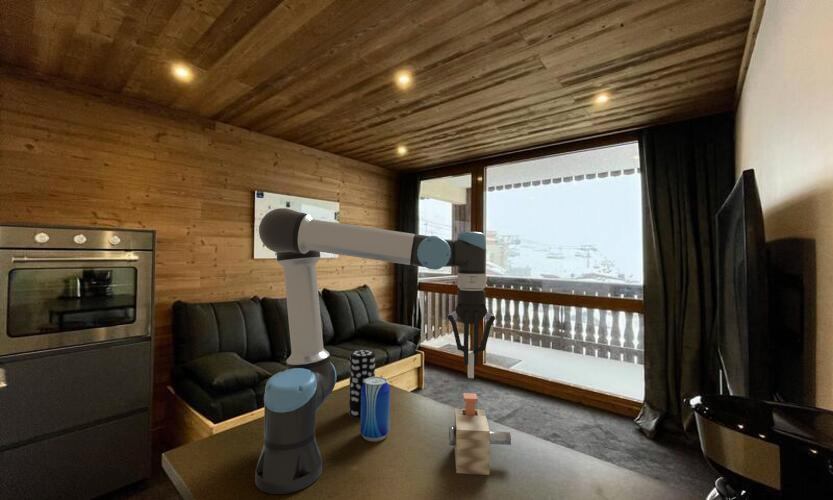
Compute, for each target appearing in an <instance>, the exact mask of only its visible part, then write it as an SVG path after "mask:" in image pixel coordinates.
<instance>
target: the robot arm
mask: <svg viewBox="0 0 833 500" xmlns="http://www.w3.org/2000/svg"><path fill="white" fill-rule="evenodd" d="M258 234H259V235H258V236H259V238H260V240H261V242H262V245H264V246H265V247H266V248H267V249H268V250H270V251H272V252H274V253H276V262H277V264H279V265H280V266H281V267H282V268H283V274H284V284H285V296H286V297H285V298H286V305H287V307H286V308H287V316H288V327H289V328H288V331H289V338H290V349H291V353H290V356H289V357H288V358H287V359H286V362H285V363H286V369H285V370H284V371H279V372H277V373H275V374H273V375H272V376H271V377H270V378H269V379H268V380H267V382H266V383H265V390H264V395H263V403H264V404H263V405H264V406H263V407H264V412H263V416H264V417H263V419H264V420H263V423H264V424H263V446H262V450H261V452H260V455H259V458H258V461H257V464H256V468H255V472H254V483H255V484H254V485H256V487H257V488H258V489H259V490H260V491H261V492H263V493H267V494H271V495H287V494H291V493H296V492H299V491H301V490H303V489H306V488H307V487H309V486H311V485H312V484H313V483H315V482H316V481H317V480H318V479H319V478H320V476H321V474H322V471H323V459H322V455H321V454H322V453H321V451H320V449H319V445H318V442H317V439H316V418H317V417H316V416H317V415H316V414H317V411H318V410H319V409H320V408H321V406H323V404H324V403H325V401H326V400H328V398H329V397H330V396H331V394H332V393H333V391H334V389H335V386H336V383H337V377H338V376H337V370H336V368H335V366H334V364H333V363H332V362H331V357H330V356H331V355H330V352H329V351H328V350H326V349H325V348H324V340H323V338H324V337H323V329H322V318H321V307H320V298H319V287H318V285H319V284H318V274H317V267H316V266H317V263H318V262H319V261H320V259H321V253H327V254H333V255H341V256H345V257H347V256H348V257H355V258H360V259H367V260H374V261H381V262H388V263H394V264H402V265H409V266H413V267H414V266H415V267H421V268H426V269H427V270H428V269H429V270H434V271H435V270H436V271H437V270H440V269H442V268H445V267H446V268H447V267H449V268H457V288H458V290H457V299H456V300H457V305H456V307H455V309H454V311H453V312H451V313H448V314H447V318H448V320H449V322H450V323H451V326H452V330H453V335H454V339H455V344H456V347H457V348H456V349H457V350H458V351H461V352H462V353H463V364H464V365H467V378H468V379H474V378H475V366H477V365H478V364H479V353H481V352H485V351H486V348H487V342H488V340H489V336H490V332H491V327H492V324H493V323H494V322H495V320H496V316H495V315H494V314H492V313H490V312H489V311H488V309H487V307H486V306H487V305H486V291H485V288H486V268H487V267H486V263H487V259H486V257H487V248H486V236H485V234H484V233H483V232H480V231H479V232H478V231H463V232H459V233H458V234H457V238H455V239H445V238H443V237H442V236H437V235H424V234H423V235H422V234H415V233H411V232H410V233H409V232H403V231H396V230H390V229H389V230H388V229H382V228H375V227H370V226H369V227H368V226H367V227H366V226H361V225H355V224H347V223H340V222H333V221H327V220H320V219H316V218H315V217H313V216H312V215H311V214H308V213H305V212H303V211H302V212H299V211H296V210H293V209H290V208H285V207H283V208H282V207H281V208H275V209H271V210H270V211H269V212H267V213H266V214H265V215H264V216H263V217H262V219H261V221H260V223H259V225H258ZM457 316H458V317H457ZM457 318H459V319H460V320H461V322H462V323H463V344H462V341H461V338H460V333H459V330H458V326H457V325H458V324H457ZM484 318H485V319H484ZM483 319H484V320H486V321H485V324H484V328H483V332H482V334H481V340H480V343H479V327H480V326H479V325H480V323H481V322H482V321H483ZM470 324H472V350H470V348H469V345H470V341H469V340H470V337H469V336H470Z"/></svg>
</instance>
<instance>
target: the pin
mask: <svg viewBox="0 0 833 500" xmlns="http://www.w3.org/2000/svg"><path fill="white" fill-rule="evenodd" d="M511 436H512V435H511V431H501V430H500V431H498V430H490V445H505V446H511V443H512V438H511ZM455 444H456V429H455V425H449V426H448V446H449V447H450V446H452V447H454V446H455Z"/></svg>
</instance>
